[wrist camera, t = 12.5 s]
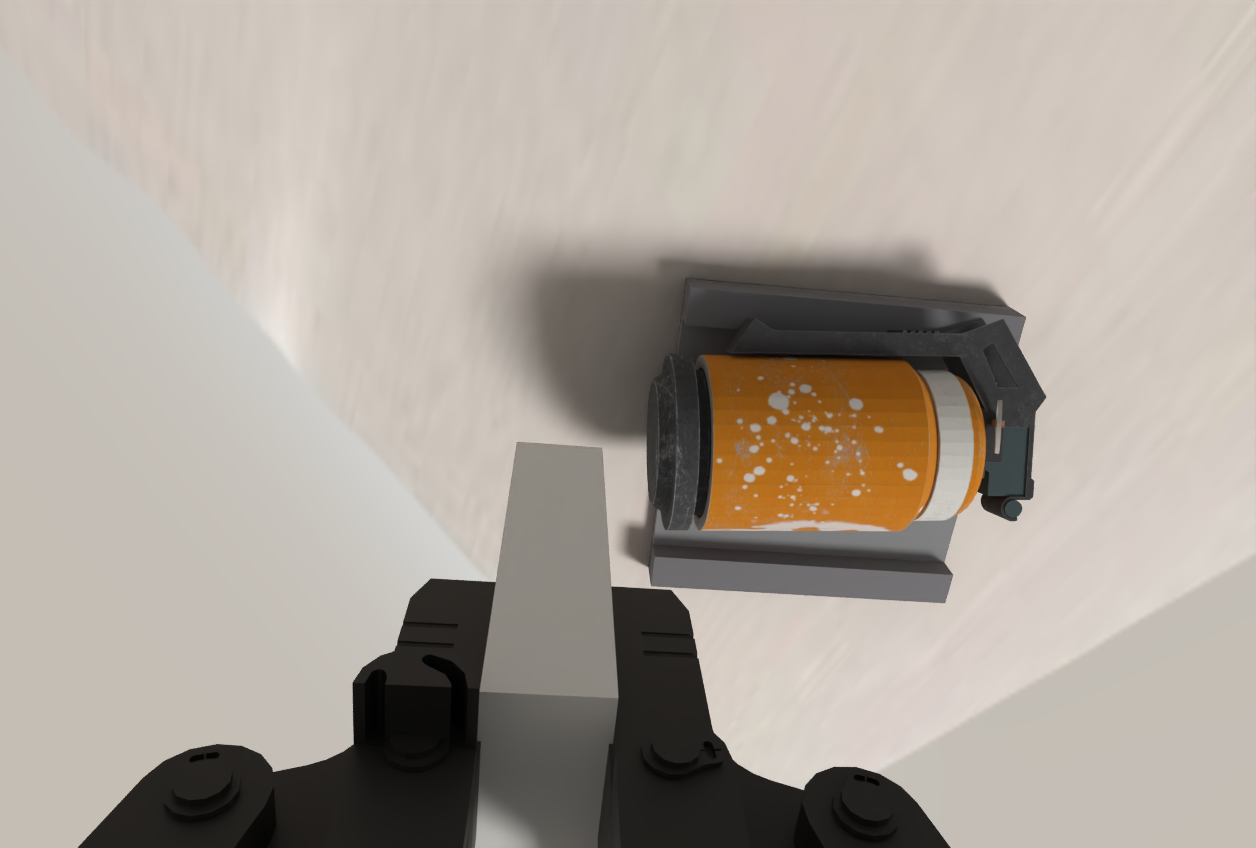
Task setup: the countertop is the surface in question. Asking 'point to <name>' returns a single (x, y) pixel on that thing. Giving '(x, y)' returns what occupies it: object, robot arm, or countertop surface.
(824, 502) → the canister
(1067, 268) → the countertop surface
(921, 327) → the tray
